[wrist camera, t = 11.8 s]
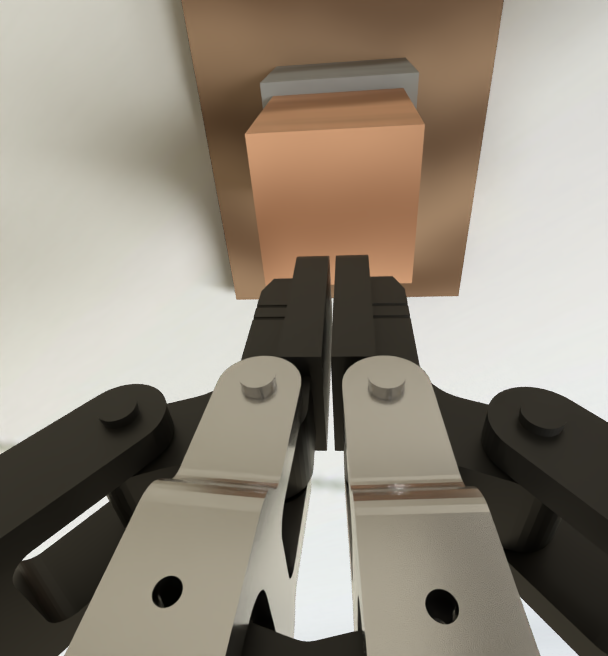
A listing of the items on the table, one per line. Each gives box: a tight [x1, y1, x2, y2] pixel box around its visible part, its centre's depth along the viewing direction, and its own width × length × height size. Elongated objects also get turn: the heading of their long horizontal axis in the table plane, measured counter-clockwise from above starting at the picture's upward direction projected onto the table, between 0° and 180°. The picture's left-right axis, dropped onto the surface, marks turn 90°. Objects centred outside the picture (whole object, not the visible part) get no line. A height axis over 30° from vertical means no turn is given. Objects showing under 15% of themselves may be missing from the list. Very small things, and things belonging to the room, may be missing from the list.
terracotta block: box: [245, 88, 425, 286], centre depth 16 cm, size 5×5×6 cm
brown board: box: [181, 0, 504, 300], centre depth 22 cm, size 20×14×6 cm
